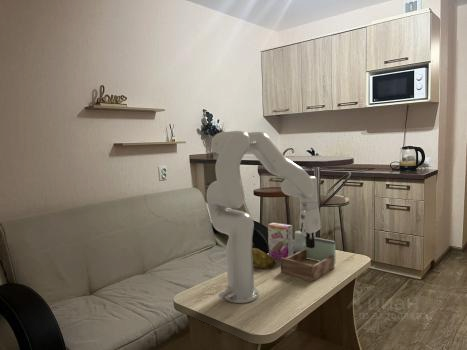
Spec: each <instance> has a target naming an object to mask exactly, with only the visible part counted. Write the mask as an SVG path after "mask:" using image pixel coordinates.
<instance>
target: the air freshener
mask: <svg viewBox="0 0 467 350" xmlns="http://www.w3.org/2000/svg"><path fill="white" fill-rule="evenodd" d="M304 249H305V237H304V236H302V232H300V230H295V232H294V239H293V253H294V252H295V253H297V252H299V251H301V250H304Z"/></svg>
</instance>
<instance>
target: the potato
mask: <svg viewBox="0 0 467 350" xmlns="http://www.w3.org/2000/svg"><path fill="white" fill-rule="evenodd" d="M252 255H253V266H255V267H256V268H259V269H271V268H273V267H274V266H276V259H274V258H273V257H272V256H270V255H269V253H266V252H265V251H263V250H261V249H259V248H255V247H252Z"/></svg>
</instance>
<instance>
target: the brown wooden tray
mask: <svg viewBox="0 0 467 350" xmlns="http://www.w3.org/2000/svg"><path fill="white" fill-rule="evenodd" d="M279 261H280V273H281V274H284V275H287V276H290V277H294V278H297V279H300V280H304V281H307V282H311V283H313V282H315V281H316V280H318V279H320V277H322V276H324V275H325V274H327V273H329V272H331V271H332V270H333V269H335V264H334V256H333V255H331V256H329V257H327V258H326V259H324V260H322V261H318V260H314V259H310V258H307V250H306V249H304V250H301V251H299V252H295V253H293V255H291V256H289V257H286V258H283V257H281V258H280V260H279Z"/></svg>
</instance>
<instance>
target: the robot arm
mask: <svg viewBox="0 0 467 350" xmlns="http://www.w3.org/2000/svg"><path fill="white" fill-rule="evenodd" d="M211 148H212V151H214V153H216V154H217V155H218V157H217V160H215V161H216V162H215V167H214V169H215V170H214V171H215V178H216V180H215V181H213V182H210V184H209V186H208V188H207V190H206V203H207V208H208V212H209V215H210V220H211V223H212V227H213V228H214V229H215V230H216V231H217V232H218V233H220V234H225V235H227V236H228V239H227V243H226V246H225V247H226V248H225V255H226V268H227V269H226V271H227V272H226V273H227V285H226V286H225V289H224V291H222V292H220V293H218V298H219V299H226V301H228V302H231V303H233V304H246V303H250V302H251V303H252V302H253V301H255V300H257V299H258V297H259V294H260V293H259V290H258V289H257V288H256V287H255V280H254V279H255V278H254V277H255V276H254V265H253V255H252V248H253V235H254V228H255V223H254V219H253V218H252V216H251V215H250V214H249V213H247V212H245V211H242V210H237V209H239V208H241V207H242V206H243V205H244V202H245V200H246V199H245V191H244V186H243V182H242V176H241V170H240V169H241V166H240V165H241V162H242V160H243V157H244V156H245V155H253V156H254V157H256V159H257V160H258V161H259V163H260V164H261V165H263V167H264V169H265V170H266V171H268V173H270V174H272V175H274V176H276V177H279V178H282V179H283V180H282V182H281V184H280V190H281V192H282V193H283V194H284V195H286V196H290V197H297V198H299V199H298V200H299V217H298V218H299V219H298V221H299V222H298V223H299V224H298V225H299V226H298V227H299V231H300V232H302V236H304V237H305V238H306V247H308V248H314V247H315V242H314V238H315V237H316V233H317V232H318V231H320V230H321V227H322V225H321V224H322V223H321V214H320V209H319V201H318V198H319V197H318V179H317V177H316V176H313V175H309V174H308V172H307V171H305V169H303V167H301V166H300V165H298V164H296V163H295V162H293V161H292V160H290V159H289V158H287V157H286V156H285V155H284V154H283V153H282V151H281V150H280V149H279V148H278V146H277V144H275V142H274V141H273V140H272V139H271V138H270V136H269V135H268V134H267V133H265V132H263V131H262V132H261V131H254V132H253V131H252V132H245V131H242V130H229V131H222V132H218V133H216V134H215V135H214V136H213V137H212V139H211Z"/></svg>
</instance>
